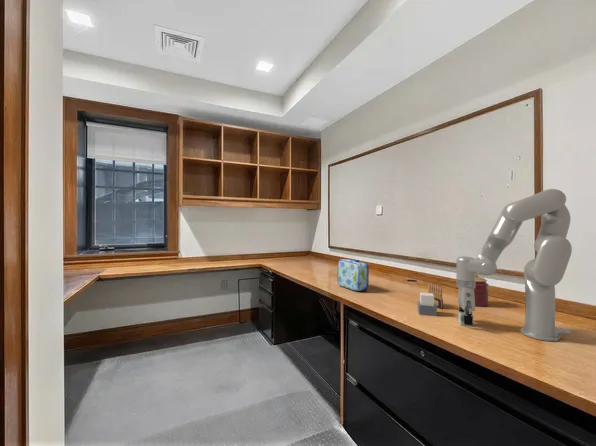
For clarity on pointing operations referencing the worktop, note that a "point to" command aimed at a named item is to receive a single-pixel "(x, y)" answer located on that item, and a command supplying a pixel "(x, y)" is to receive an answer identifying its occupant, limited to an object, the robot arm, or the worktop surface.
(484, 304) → the canister
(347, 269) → the lunch box
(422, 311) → the tower base
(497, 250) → the robot arm
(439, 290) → the ammunition clip
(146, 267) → the worktop surface
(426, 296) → the tower top
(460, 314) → the sage block
